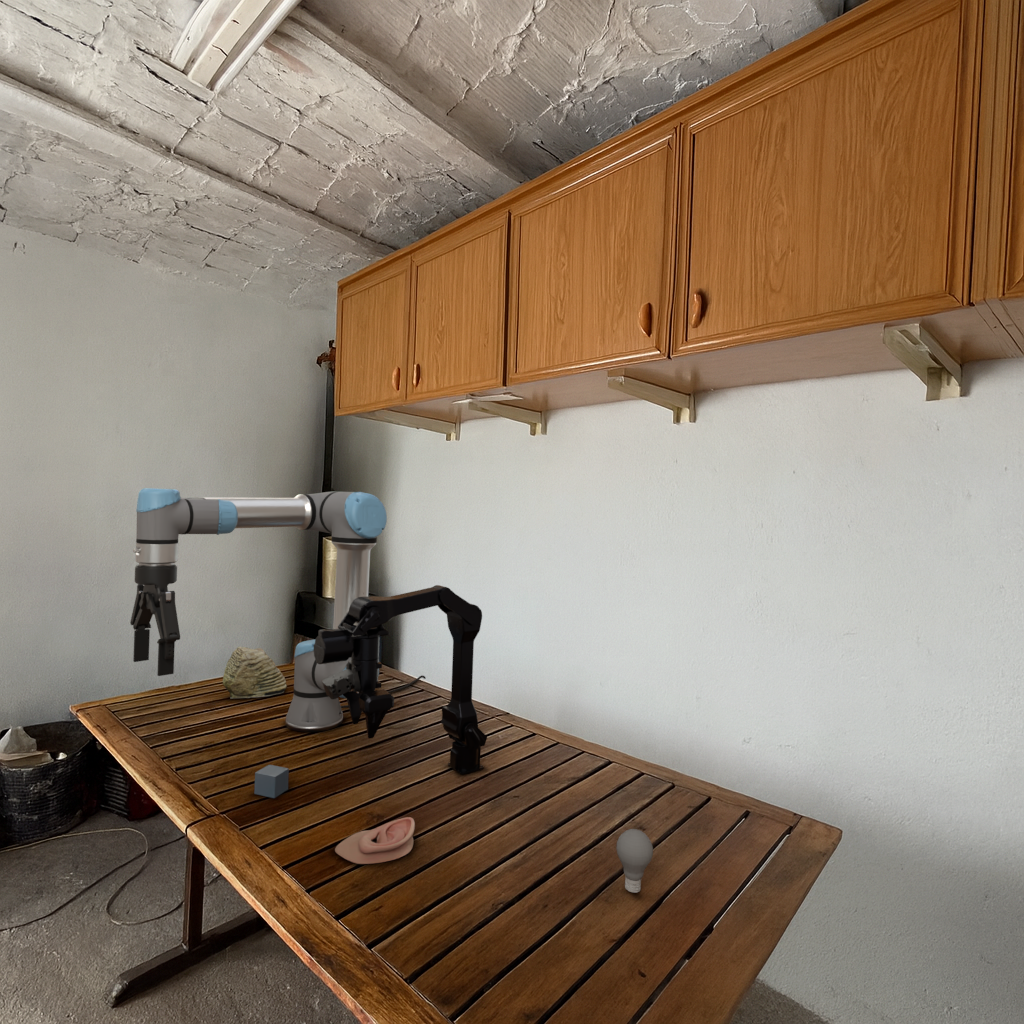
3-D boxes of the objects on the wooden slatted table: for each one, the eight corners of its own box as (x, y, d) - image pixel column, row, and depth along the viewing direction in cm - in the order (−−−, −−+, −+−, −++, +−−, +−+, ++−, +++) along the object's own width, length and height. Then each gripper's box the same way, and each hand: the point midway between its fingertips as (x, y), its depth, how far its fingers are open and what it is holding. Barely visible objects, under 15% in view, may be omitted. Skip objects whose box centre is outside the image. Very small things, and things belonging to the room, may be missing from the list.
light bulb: (610, 879, 108) (613, 822, 108) (644, 879, 109) (647, 822, 109) (619, 902, 102) (622, 840, 102) (655, 901, 103) (658, 840, 103)
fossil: (218, 695, 195) (220, 647, 195) (278, 685, 208) (279, 640, 207) (228, 703, 189) (230, 653, 188) (289, 692, 201) (290, 645, 201)
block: (268, 785, 138) (269, 764, 138) (288, 789, 136) (289, 768, 136) (254, 794, 134) (254, 772, 134) (274, 798, 132) (275, 776, 132)
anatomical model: (327, 836, 111) (356, 806, 122) (326, 858, 111) (355, 826, 122) (398, 848, 108) (421, 815, 119) (397, 871, 108) (420, 836, 119)
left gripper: (115, 558, 135) (112, 658, 135) (159, 571, 118) (155, 684, 118) (153, 557, 140) (150, 652, 141) (201, 569, 124) (197, 677, 124)
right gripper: (313, 651, 137) (311, 723, 138) (342, 673, 122) (339, 754, 122) (363, 646, 143) (361, 714, 144) (396, 666, 128) (393, 743, 128)
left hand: (152, 667), depth 129 cm, fingers open, 13 cm apart
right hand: (362, 730), depth 134 cm, fingers open, 9 cm apart
